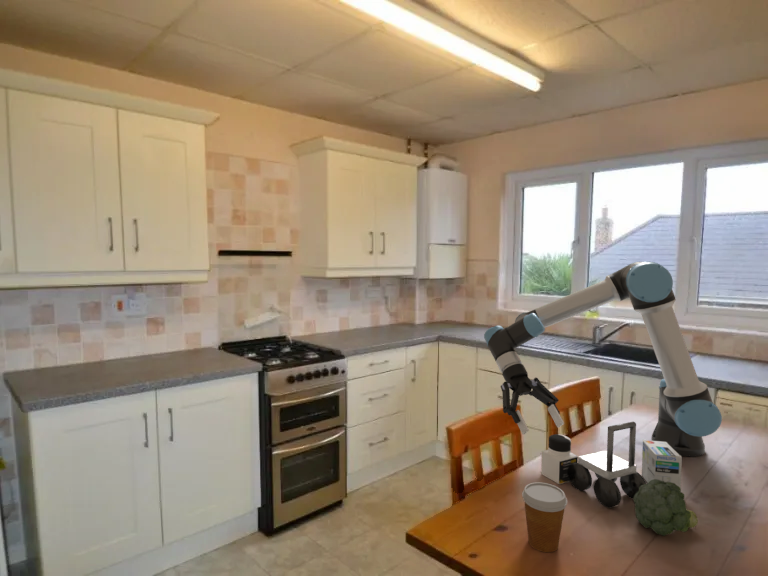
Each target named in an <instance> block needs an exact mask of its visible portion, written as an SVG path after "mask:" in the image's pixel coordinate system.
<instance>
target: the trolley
mask: <svg viewBox="0 0 768 576" xmlns="http://www.w3.org/2000/svg"><path fill="white" fill-rule="evenodd" d="M627 429H629V441H628V442H629V444H628V460H625V459H624V458H621V457H619V456H618V455H615V454H614V437H615V436H614V435H615V432H617V431H622V430H623V431H624V430H627ZM636 435H637V423H636V421H630V422H629V421H628V422H624V423H623V422H622V423H618V424H614V425H610V426H608V427H607V440H606V441H607V443H606V446H607V447H606V450H601V451H597V452H593V453H588V454H585V455H579V456H578V463H574V464H571V465H570V466H569V468H568V477H569V480H570V481H569V483H570V484H571V485H572V486H573V488H575V490H577V491H580V492H583V491H586V490H587V491H588V490H589V489H591V487H592V485H593V492H594V495H595V497H596V499H597V500H598V501H599V503H600V504H601V505H602V506H603V507H606V508H609V509H610V508H613V507H617V506H618V505H620V503H621V500H622V494H621V490H620V488H619V486H618V485H617V483H616V482H617V480H618V478H619V484H620V487H621V489H622V491H623V492H624V494H625V496H627V497H628V498H630V499H632V500H633V498H634V495H635V494H636V493H637V492H638V491H639V487H640V486H641V485H644V484H647V481H646V480H645V479H644V477H643V476H642V474H640V473H639V472H638V471H637V465H636V464H635V463H636V462H635V459H636V458H635V457H636V440H637V439H636ZM590 471H591V472H593V473H594V475H595V477H596V478H597V479H595V481H594V483H593V478H592V474H591V472H590Z"/></svg>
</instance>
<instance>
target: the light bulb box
mask: <svg viewBox="0 0 768 576" xmlns="http://www.w3.org/2000/svg"><path fill="white" fill-rule="evenodd" d="M641 454H642V458H641V476H642V477H643V478H644V480H645V481H646V484H647V483H648V482H649V481H651V480H654V479H658V480H661V481H664V482H671V483H675V484H676V485H677V486H678V487H680V489H682V464H683V456H681V455H679V454H678V453H677V452H676V451H675V450H674V449H673V448H672V447H671V446H670V445H669V444H668V443H667V442H662V441H651V439H650V440H648V439H642V453H641Z"/></svg>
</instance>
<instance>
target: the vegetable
mask: <svg viewBox="0 0 768 576" xmlns="http://www.w3.org/2000/svg"><path fill="white" fill-rule="evenodd" d="M681 489H682V488H681ZM681 489H680V487H678V486H677V485H676V484H675V483H671V482H664V481H661V480H658V479H654V480H651V481H649V482H648V483H647V482H646V484H644V485H641V486H640V487H639V491H638V492H637V493H636V494H635V495H634V498H633V499H632V500H633V502H634V512H635V517H636V520H638V522H639V523H640V524H641V525H642V526H643V527H644V528H646V529H648V528H651V530H652V531H653V532H654V533H656V535H660V536H663V537H664V536H666V535H670V534H673V532H674V531H680V532H682V533H686V532H687V531H688V530H689V529H694V528H695V527H696V526H697V525H698V521H699V519H698V516H697V514H696V513H695V512H694V511H693V510H690V509H687V504H686V501H685V500H684V499H685V493H683V492H681V491H682V490H681Z"/></svg>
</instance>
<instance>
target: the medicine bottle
mask: <svg viewBox="0 0 768 576" xmlns="http://www.w3.org/2000/svg"><path fill="white" fill-rule="evenodd" d="M571 450H572V440H571V438H570V437H568V436H566V435H563V434H559V433H558V434H557V433H556V434H551V435H550V436H549V437H548V448H547V449H545V450H542V451H541V462H540V463H541V464H540V465H541V467H540V469H541V471H540V474H541V475H543V476H544V477H546V478H547V479H549V480H550V481H552V482H555V483H556V484H558V485H562V484H566V483H570V480H569V477H568V468H569V466H570V465H571V464H574V463H578V457H579V456H578V455H577V454H575V453H573V452H572V451H571Z"/></svg>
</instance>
